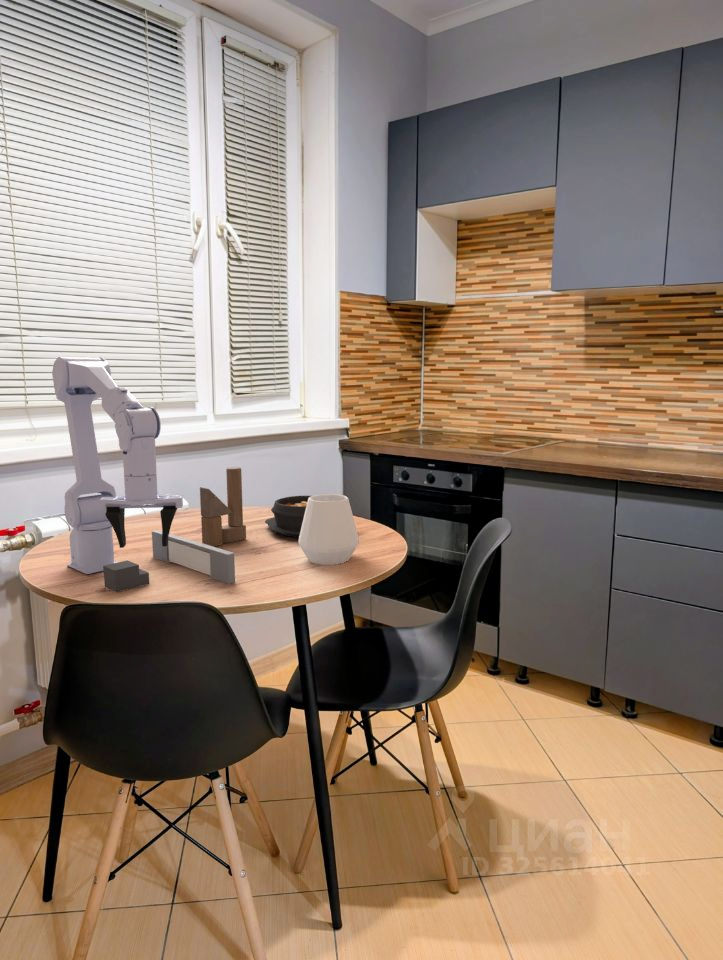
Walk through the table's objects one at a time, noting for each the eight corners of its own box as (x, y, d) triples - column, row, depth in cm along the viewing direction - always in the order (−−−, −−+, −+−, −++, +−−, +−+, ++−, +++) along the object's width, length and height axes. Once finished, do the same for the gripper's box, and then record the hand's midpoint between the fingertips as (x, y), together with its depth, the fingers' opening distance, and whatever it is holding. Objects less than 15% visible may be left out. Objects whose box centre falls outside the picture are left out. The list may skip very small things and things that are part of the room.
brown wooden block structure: (201, 545, 161) (198, 471, 158) (237, 536, 169) (235, 466, 166) (210, 548, 159) (207, 472, 156) (246, 539, 167) (244, 467, 164)
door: (169, 560, 147) (168, 540, 146) (173, 559, 148) (172, 539, 147) (210, 575, 136) (209, 553, 136) (215, 574, 137) (214, 552, 137)
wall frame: (153, 557, 151) (151, 531, 150) (159, 555, 152) (158, 530, 151) (228, 584, 132) (227, 554, 131) (235, 582, 133) (234, 552, 132)
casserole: (363, 536, 170) (363, 503, 169) (302, 548, 158) (302, 513, 157) (306, 519, 189) (305, 489, 188) (248, 529, 177) (247, 498, 176)
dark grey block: (104, 588, 131) (103, 565, 130) (137, 579, 136) (136, 558, 135) (116, 593, 128) (114, 570, 127) (149, 584, 133) (148, 562, 132)
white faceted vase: (358, 550, 156) (358, 491, 154) (359, 567, 143) (359, 503, 141) (300, 551, 156) (299, 492, 154) (296, 568, 143) (295, 503, 140)
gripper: (93, 478, 119) (98, 552, 121) (177, 477, 120) (181, 550, 123) (103, 472, 125) (107, 542, 128) (182, 470, 127) (185, 540, 130)
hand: (144, 545), depth 126 cm, fingers open, 7 cm apart
